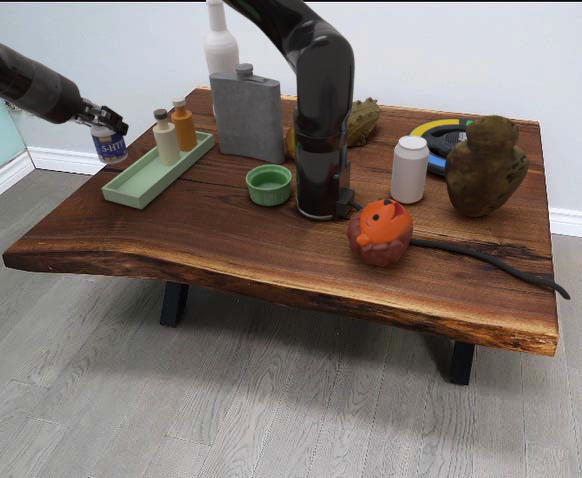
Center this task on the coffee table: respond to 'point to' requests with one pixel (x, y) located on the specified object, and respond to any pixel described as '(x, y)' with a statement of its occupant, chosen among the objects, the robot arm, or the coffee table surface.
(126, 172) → the tray
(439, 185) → the coffee table surface
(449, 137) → the electronic game
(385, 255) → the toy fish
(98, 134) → the pill bottle
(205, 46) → the bottle
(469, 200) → the sculpture
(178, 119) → the amber bottle
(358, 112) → the seashell
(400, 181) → the beverage can
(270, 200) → the ramekin
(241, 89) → the hip flask
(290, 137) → the fruit
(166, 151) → the cream bottle
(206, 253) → the coffee table surface
